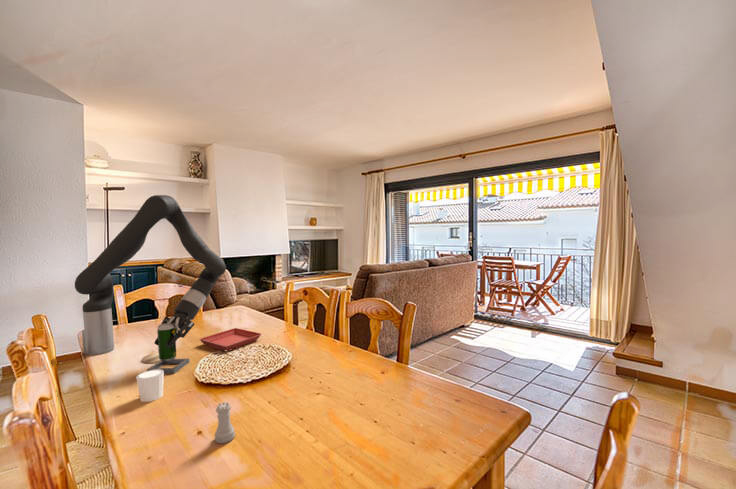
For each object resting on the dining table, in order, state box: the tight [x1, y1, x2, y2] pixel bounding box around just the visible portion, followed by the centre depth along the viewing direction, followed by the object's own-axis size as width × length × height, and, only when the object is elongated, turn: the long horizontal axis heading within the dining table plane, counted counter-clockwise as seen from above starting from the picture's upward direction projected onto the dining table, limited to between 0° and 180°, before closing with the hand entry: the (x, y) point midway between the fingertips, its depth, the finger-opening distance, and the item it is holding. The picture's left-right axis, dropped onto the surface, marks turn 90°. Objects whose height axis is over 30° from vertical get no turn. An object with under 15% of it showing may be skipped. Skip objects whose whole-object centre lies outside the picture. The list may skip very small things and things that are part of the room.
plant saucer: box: [199, 327, 262, 351], centre depth 149 cm, size 18×18×3 cm
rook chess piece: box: [214, 401, 236, 444], centre depth 81 cm, size 4×4×8 cm
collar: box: [146, 358, 190, 375], centre depth 124 cm, size 10×10×2 cm
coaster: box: [141, 351, 160, 364], centre depth 134 cm, size 11×11×1 cm
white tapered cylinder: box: [135, 369, 165, 403], centre depth 102 cm, size 7×7×7 cm
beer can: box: [156, 323, 177, 361], centre depth 124 cm, size 5×5×12 cm
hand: (162, 345), depth 122 cm, fingers closed on beer can, 5 cm apart
